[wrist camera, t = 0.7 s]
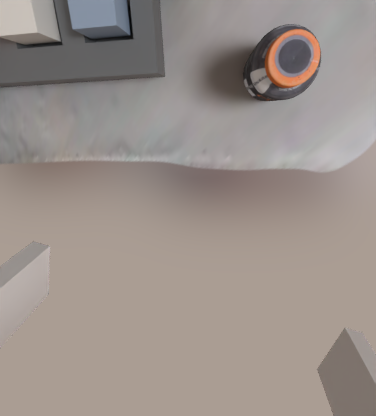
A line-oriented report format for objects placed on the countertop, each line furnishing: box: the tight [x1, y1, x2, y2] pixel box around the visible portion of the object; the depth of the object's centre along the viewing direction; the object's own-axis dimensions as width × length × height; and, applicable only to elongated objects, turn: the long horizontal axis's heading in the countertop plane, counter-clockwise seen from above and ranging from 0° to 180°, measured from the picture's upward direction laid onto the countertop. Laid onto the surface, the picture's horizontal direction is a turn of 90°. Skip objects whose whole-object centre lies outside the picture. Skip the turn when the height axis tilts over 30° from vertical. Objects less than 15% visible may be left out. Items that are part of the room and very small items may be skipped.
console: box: [0, 0, 165, 87], centre depth 30 cm, size 12×26×4 cm, turn 93°
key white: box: [0, 0, 61, 45], centre depth 27 cm, size 4×4×4 cm
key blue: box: [68, 0, 131, 39], centre depth 26 cm, size 4×4×4 cm
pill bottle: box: [243, 24, 321, 101], centre depth 26 cm, size 6×6×11 cm
